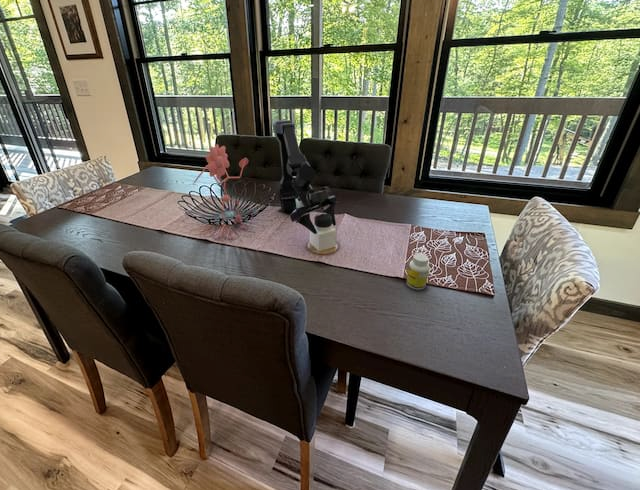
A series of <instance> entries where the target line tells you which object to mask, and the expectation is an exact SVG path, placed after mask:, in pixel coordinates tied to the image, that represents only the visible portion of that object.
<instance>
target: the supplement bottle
mask: <svg viewBox="0 0 640 490" xmlns="http://www.w3.org/2000/svg"><path fill="white" fill-rule="evenodd" d="M429 259H430V258H429V257H428V255H426V254H424V253H418V252H417V253H414V254H413V257H412V259H411V260H410V262H409V264H408V269H407V276H406V283H405V284H406V285H407V286H408V287H409V288H410V289H413V290H417V291H419V290H420V291H421V290H423V289H425V288H426V286H427V283H428V277H429V273H430V266H431V265H430V264H429Z"/></svg>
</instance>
